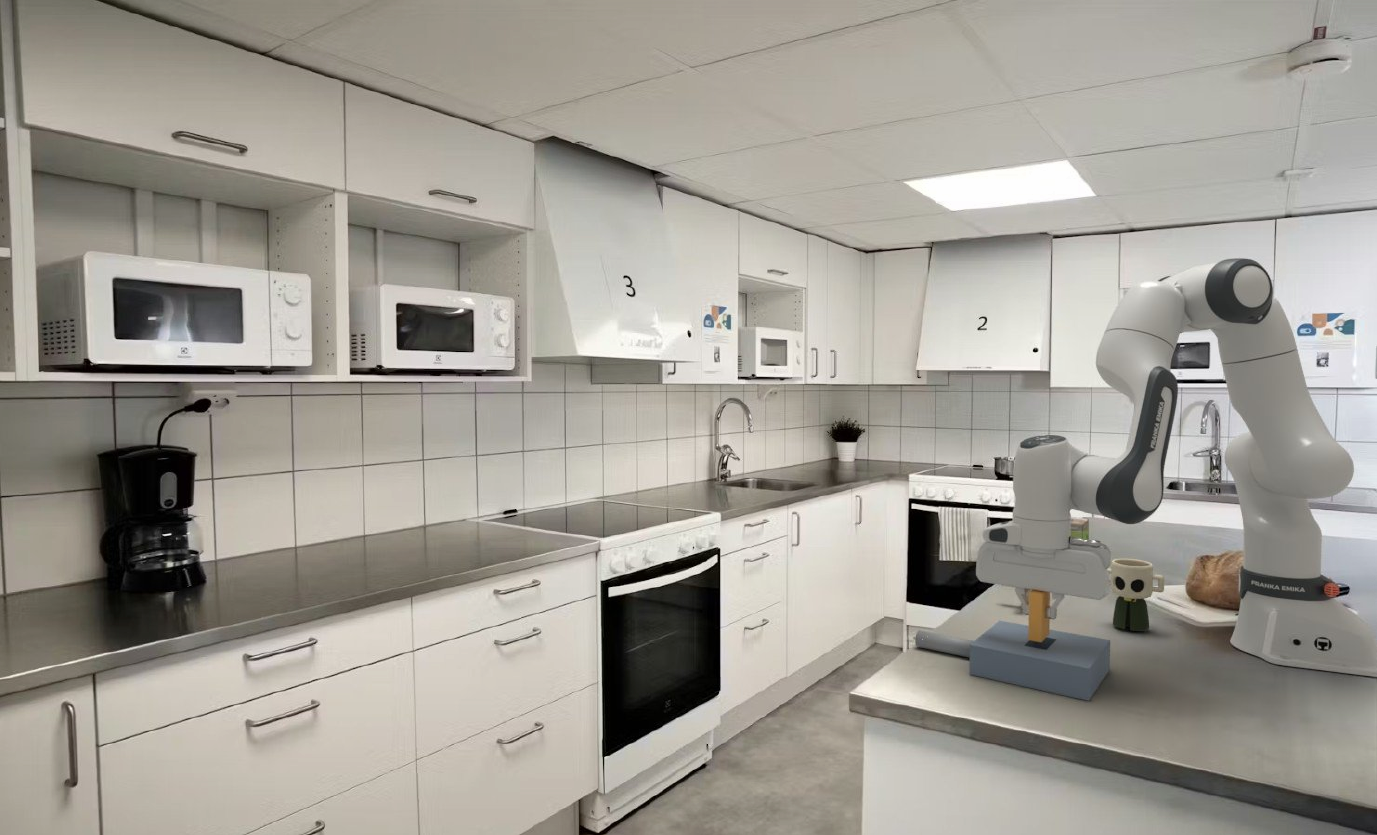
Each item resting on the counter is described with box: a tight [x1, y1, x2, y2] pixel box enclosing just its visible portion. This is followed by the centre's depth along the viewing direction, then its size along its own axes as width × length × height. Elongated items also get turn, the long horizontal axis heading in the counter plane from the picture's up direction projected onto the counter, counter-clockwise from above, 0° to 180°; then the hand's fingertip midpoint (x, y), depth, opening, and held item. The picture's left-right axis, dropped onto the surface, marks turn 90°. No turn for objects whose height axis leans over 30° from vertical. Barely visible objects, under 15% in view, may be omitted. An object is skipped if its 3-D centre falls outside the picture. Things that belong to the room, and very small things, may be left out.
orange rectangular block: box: [1028, 590, 1051, 642], centre depth 132 cm, size 5×2×8 cm, turn 142°
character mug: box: [1107, 558, 1165, 632], centre depth 153 cm, size 11×7×13 cm, turn 50°
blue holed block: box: [914, 620, 1111, 701], centre depth 136 cm, size 30×16×5 cm, turn 52°
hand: (1039, 616), depth 132 cm, fingers closed on orange rectangular block, 2 cm apart
